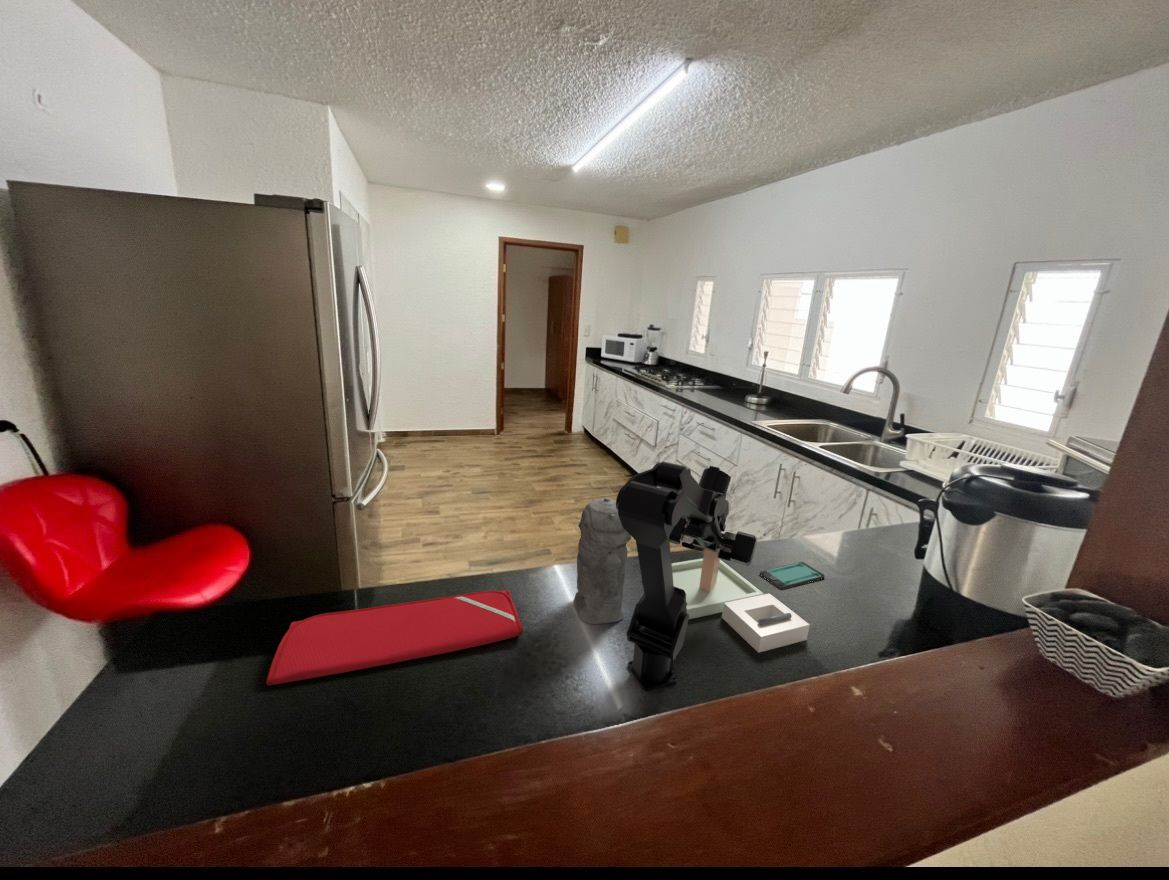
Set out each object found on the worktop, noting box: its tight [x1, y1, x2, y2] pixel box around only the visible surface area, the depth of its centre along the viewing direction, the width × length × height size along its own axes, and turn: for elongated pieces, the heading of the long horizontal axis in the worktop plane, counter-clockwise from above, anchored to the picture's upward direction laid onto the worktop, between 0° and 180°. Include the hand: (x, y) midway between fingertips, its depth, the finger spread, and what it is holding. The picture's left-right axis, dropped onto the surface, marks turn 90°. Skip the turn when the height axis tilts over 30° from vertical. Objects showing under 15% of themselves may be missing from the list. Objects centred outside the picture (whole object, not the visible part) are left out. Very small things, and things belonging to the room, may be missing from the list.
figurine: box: [572, 497, 632, 625], centre depth 94 cm, size 10×14×25 cm
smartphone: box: [759, 561, 826, 590], centre depth 114 cm, size 7×1×15 cm
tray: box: [671, 558, 765, 620], centre depth 106 cm, size 20×17×2 cm
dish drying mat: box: [265, 589, 524, 686], centre depth 86 cm, size 16×41×4 cm, turn 109°
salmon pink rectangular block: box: [699, 549, 721, 592], centre depth 105 cm, size 5×2×11 cm, turn 148°
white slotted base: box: [721, 593, 811, 653], centre depth 93 cm, size 12×11×4 cm
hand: (713, 552), depth 105 cm, fingers open, 4 cm apart
